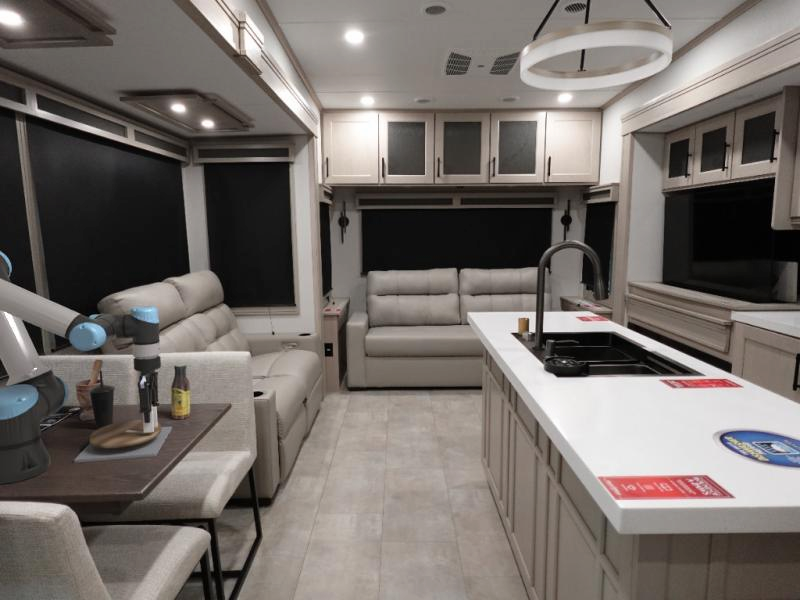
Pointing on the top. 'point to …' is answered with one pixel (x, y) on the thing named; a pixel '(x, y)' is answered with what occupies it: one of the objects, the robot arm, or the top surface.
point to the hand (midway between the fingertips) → (150, 429)
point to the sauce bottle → (180, 393)
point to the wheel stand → (125, 449)
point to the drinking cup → (102, 403)
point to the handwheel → (122, 434)
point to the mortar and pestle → (84, 388)
